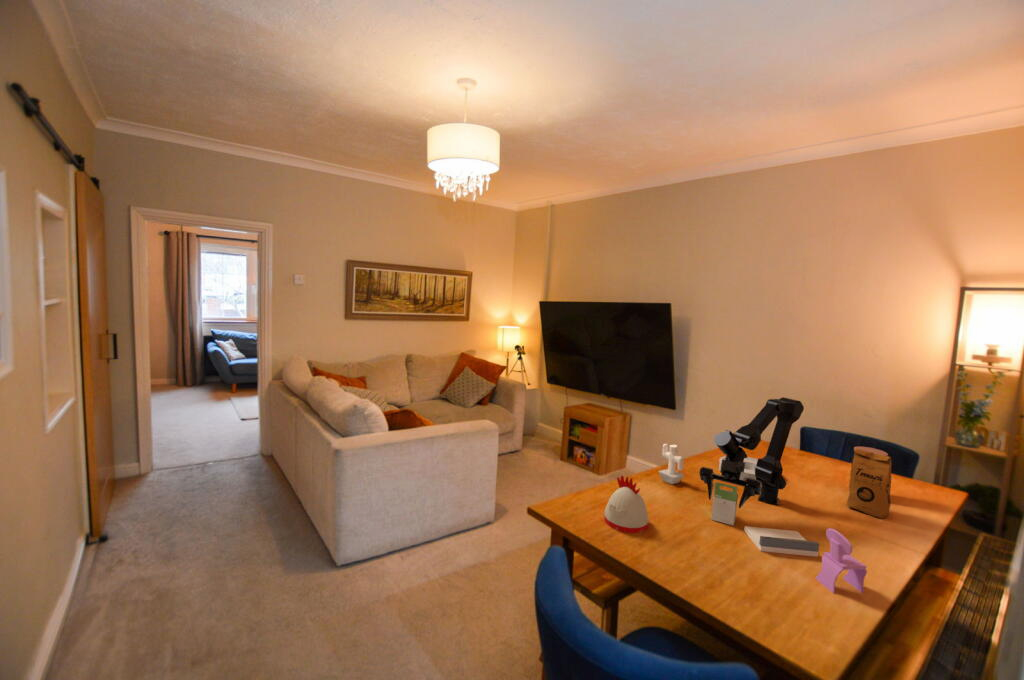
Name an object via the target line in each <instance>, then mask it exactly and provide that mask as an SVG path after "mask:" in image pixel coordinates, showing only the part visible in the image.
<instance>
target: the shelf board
mask: <svg viewBox="0 0 1024 680" xmlns="http://www.w3.org/2000/svg"><path fill="white" fill-rule="evenodd" d="M743 531H744V532H745V533H746V534H747V536H748V537H749V538H750V539H749V540H751V541H752V542H753V544H754V545H755V546H756V547H757V548H758V550H759V551H760V552H766V553H778V554H787V555H794V556H795V555H796V556H797V555H798V556H804V557H805V556H807V557H816V558H817V557H818V556H819V550H820V549H819V548H820V543H819V541H814V540H806V538H805V537H804V536H802V534H800V532H798V531H797V530H788V529H787V530H786V529H776V528H767V527H757V526H756V527H755V526H747V525H745V526H744V530H743Z"/></svg>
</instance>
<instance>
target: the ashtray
mask: <svg viewBox="0 0 1024 680" xmlns="http://www.w3.org/2000/svg"><path fill="white" fill-rule="evenodd" d="M725 458H726V455H724V456H721V457H720V458H719V459H718V462H719V464H718V465H719V466H718V470H719V471H720V470H721V463H722V460H725ZM758 459H759V458H755V457H749V456H747V458H744V462H745V468H744V472H741V475H740V480H743V481H747V478H751V479H755V480H756V476H755V467H756V464H757V460H758ZM761 484H762V483H761Z"/></svg>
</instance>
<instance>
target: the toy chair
mask: <svg viewBox="0 0 1024 680" xmlns="http://www.w3.org/2000/svg"><path fill="white" fill-rule="evenodd" d="M825 535H826V538H827V540H828V541H829V543H830V552H829V551H823V555H822V558H821V569H820V572H819V573H818V574H817V575H816V577H815V580H817V581H818V582H819V583H820V584H821V585H823V586H824V587H825V588H826V589H827V590H828V591H829V592H831V593H832V594H835V592H836V590H835V588H836V580H837V578H838V577H839V575H840V574H841V573H842V572H843V571H846V570H847V572H846V574H845V575H844V577H842V579H843V580H844V581H845V582H847V583H848V584H849V585H851V587H853V588H855V589H856V590H858V592H859V593H861V594H864V592H865V591H864V587H865V586H864V585H865V584H864V582H865V578H866V575H867V573H868V570H867V565H865V564H864V563H862V562H860V561H859V560H858V559H856V558H855V557H854V556H852V555H851V554H852V553H853V545H852V543H851V541H850V540H849V539H847V537H845V536H844V535H843V534H842V533H841V532H839V531H838V530H836V529H834V528H830V527H829V528H827V529H826V532H825Z"/></svg>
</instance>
